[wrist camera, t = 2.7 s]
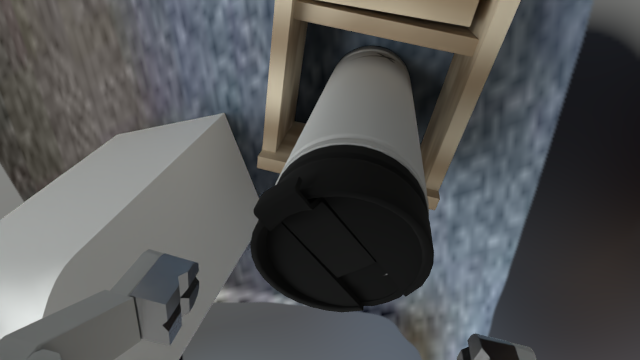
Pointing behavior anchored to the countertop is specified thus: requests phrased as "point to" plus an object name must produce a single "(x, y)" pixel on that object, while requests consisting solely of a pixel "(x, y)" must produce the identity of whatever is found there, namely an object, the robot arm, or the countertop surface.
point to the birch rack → (465, 42)
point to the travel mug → (350, 194)
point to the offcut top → (421, 8)
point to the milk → (130, 224)
